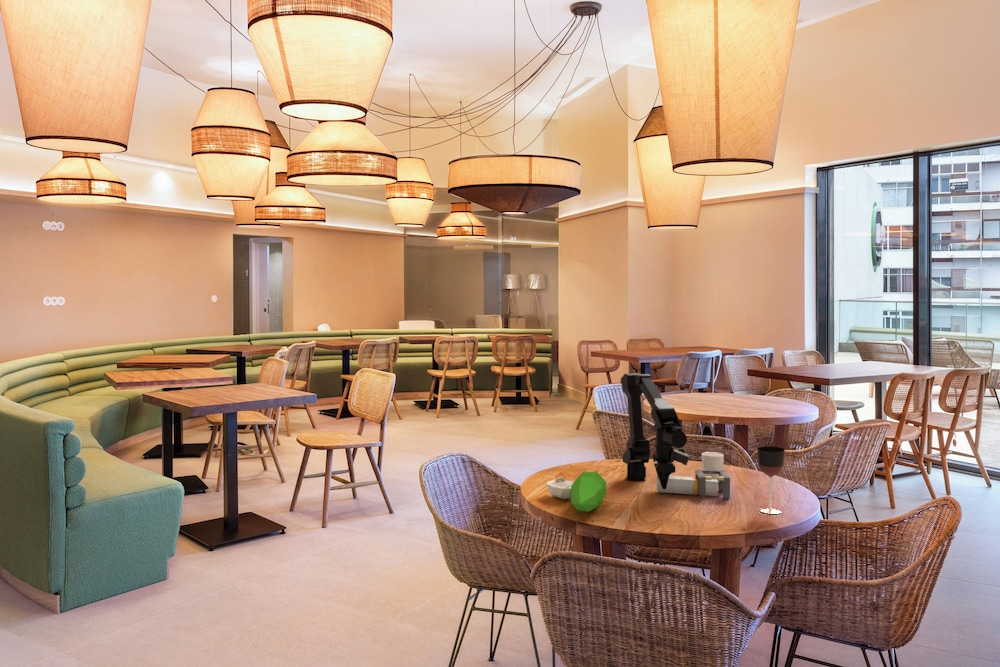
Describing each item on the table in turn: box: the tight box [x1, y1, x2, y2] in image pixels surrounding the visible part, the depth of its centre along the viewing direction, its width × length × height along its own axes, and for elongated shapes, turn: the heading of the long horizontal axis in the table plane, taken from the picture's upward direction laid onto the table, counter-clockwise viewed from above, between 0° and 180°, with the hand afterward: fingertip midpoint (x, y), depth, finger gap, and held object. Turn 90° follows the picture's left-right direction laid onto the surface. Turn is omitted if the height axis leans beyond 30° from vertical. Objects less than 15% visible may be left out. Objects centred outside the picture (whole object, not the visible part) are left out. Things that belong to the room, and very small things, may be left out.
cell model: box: [546, 476, 574, 500], centre depth 250 cm, size 10×12×7 cm
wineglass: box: [756, 445, 786, 514], centre depth 232 cm, size 8×9×20 cm
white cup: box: [701, 451, 725, 484], centre depth 272 cm, size 8×8×10 cm
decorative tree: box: [570, 471, 607, 512], centre depth 236 cm, size 11×12×30 cm
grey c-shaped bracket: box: [694, 469, 731, 500], centre depth 253 cm, size 10×11×7 cm
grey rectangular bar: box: [656, 474, 719, 497], centre depth 254 cm, size 20×4×5 cm, turn 82°
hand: (663, 487), depth 255 cm, fingers closed on grey rectangular bar, 4 cm apart
